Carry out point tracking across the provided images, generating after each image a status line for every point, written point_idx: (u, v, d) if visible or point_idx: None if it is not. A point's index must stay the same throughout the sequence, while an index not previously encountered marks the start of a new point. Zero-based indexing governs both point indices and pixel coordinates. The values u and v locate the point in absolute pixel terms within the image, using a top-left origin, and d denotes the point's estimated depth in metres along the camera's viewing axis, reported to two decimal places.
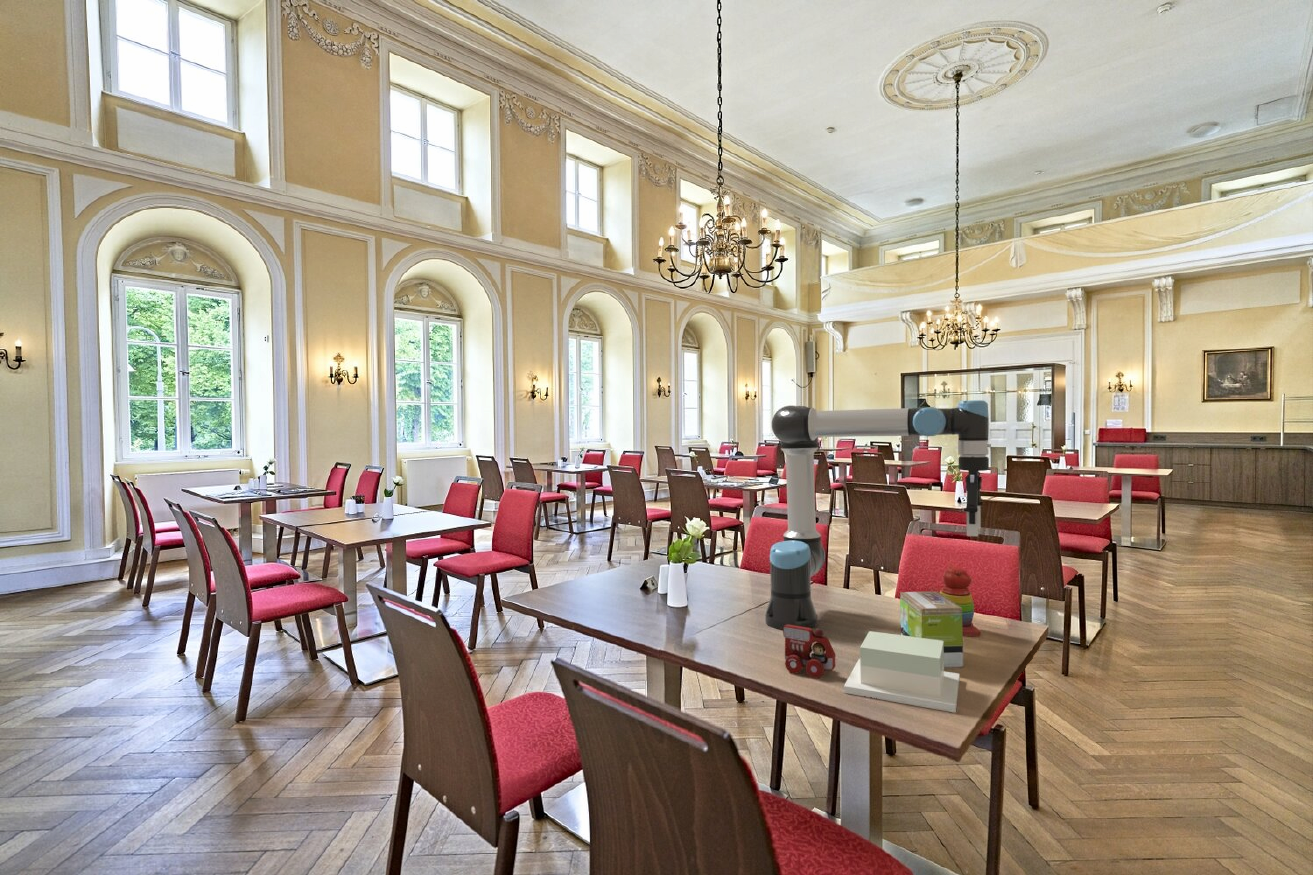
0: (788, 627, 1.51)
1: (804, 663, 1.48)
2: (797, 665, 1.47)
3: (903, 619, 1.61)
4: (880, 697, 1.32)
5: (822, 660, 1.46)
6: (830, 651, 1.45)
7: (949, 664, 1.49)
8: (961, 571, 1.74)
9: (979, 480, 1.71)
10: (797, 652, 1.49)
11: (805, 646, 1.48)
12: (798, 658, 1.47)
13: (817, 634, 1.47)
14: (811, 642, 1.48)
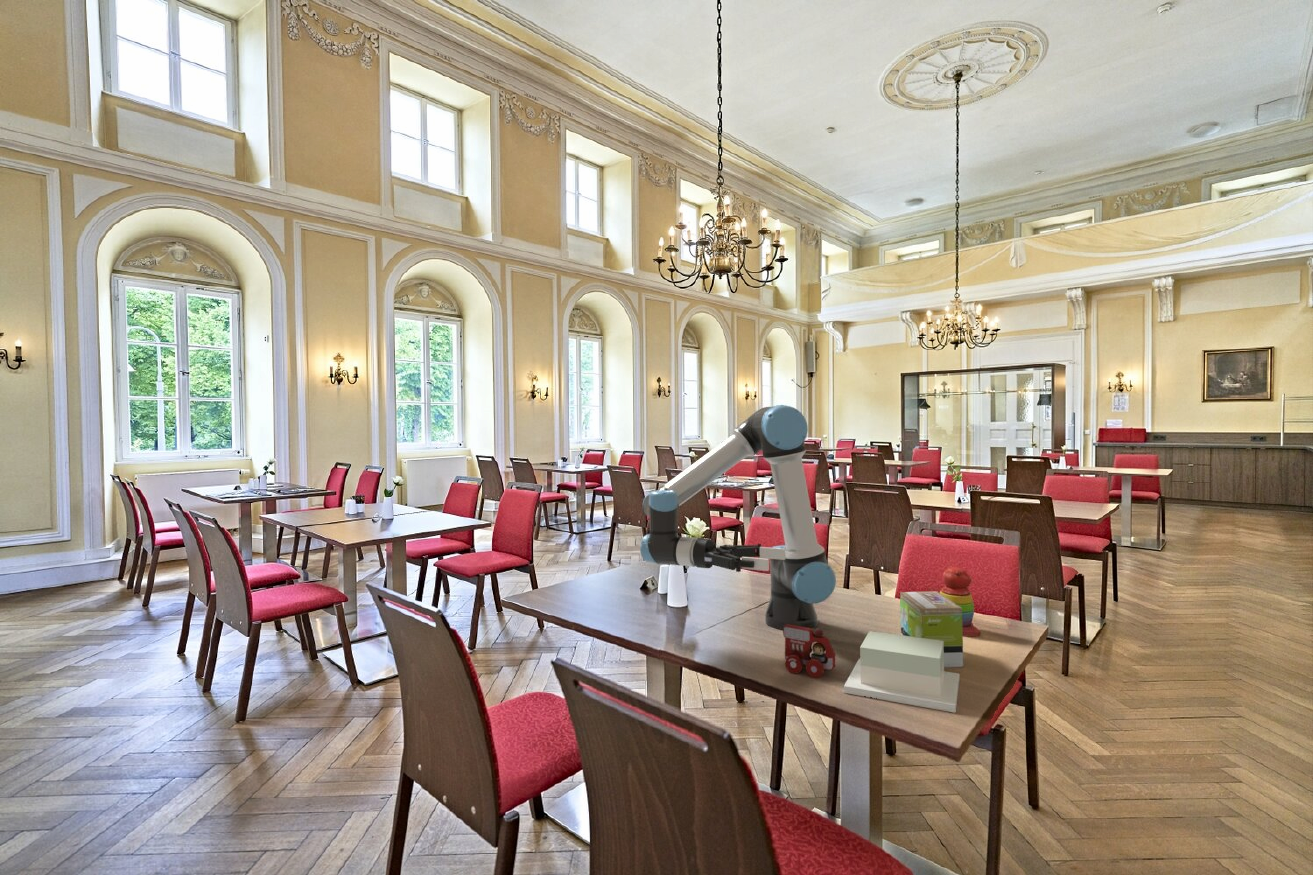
0: (788, 627, 1.51)
1: (804, 663, 1.48)
2: (797, 665, 1.47)
3: (903, 619, 1.61)
4: (880, 697, 1.32)
5: (822, 660, 1.46)
6: (830, 651, 1.45)
7: (949, 664, 1.49)
8: (961, 571, 1.74)
9: None
10: (797, 652, 1.49)
11: (805, 646, 1.48)
12: (798, 658, 1.47)
13: (817, 634, 1.47)
14: (811, 642, 1.48)
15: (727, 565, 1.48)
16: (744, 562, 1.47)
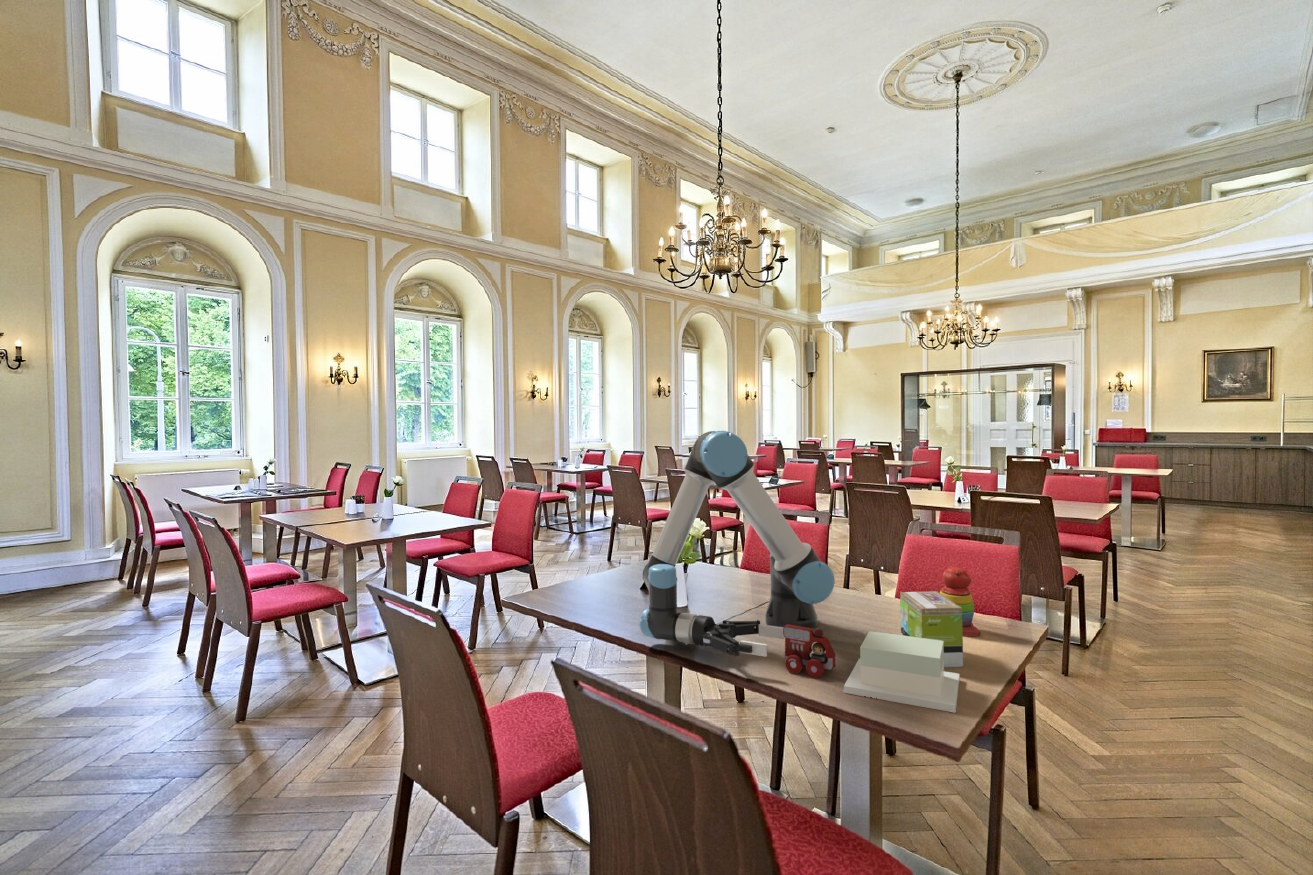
0: (788, 627, 1.51)
1: (804, 663, 1.48)
2: (797, 665, 1.47)
3: (903, 619, 1.61)
4: (880, 697, 1.32)
5: (822, 660, 1.46)
6: (830, 651, 1.45)
7: (949, 664, 1.49)
8: (961, 571, 1.74)
9: None
10: (797, 652, 1.49)
11: (805, 646, 1.48)
12: (798, 658, 1.47)
13: (817, 634, 1.47)
14: (811, 642, 1.48)
15: (725, 649, 1.48)
16: (742, 647, 1.47)
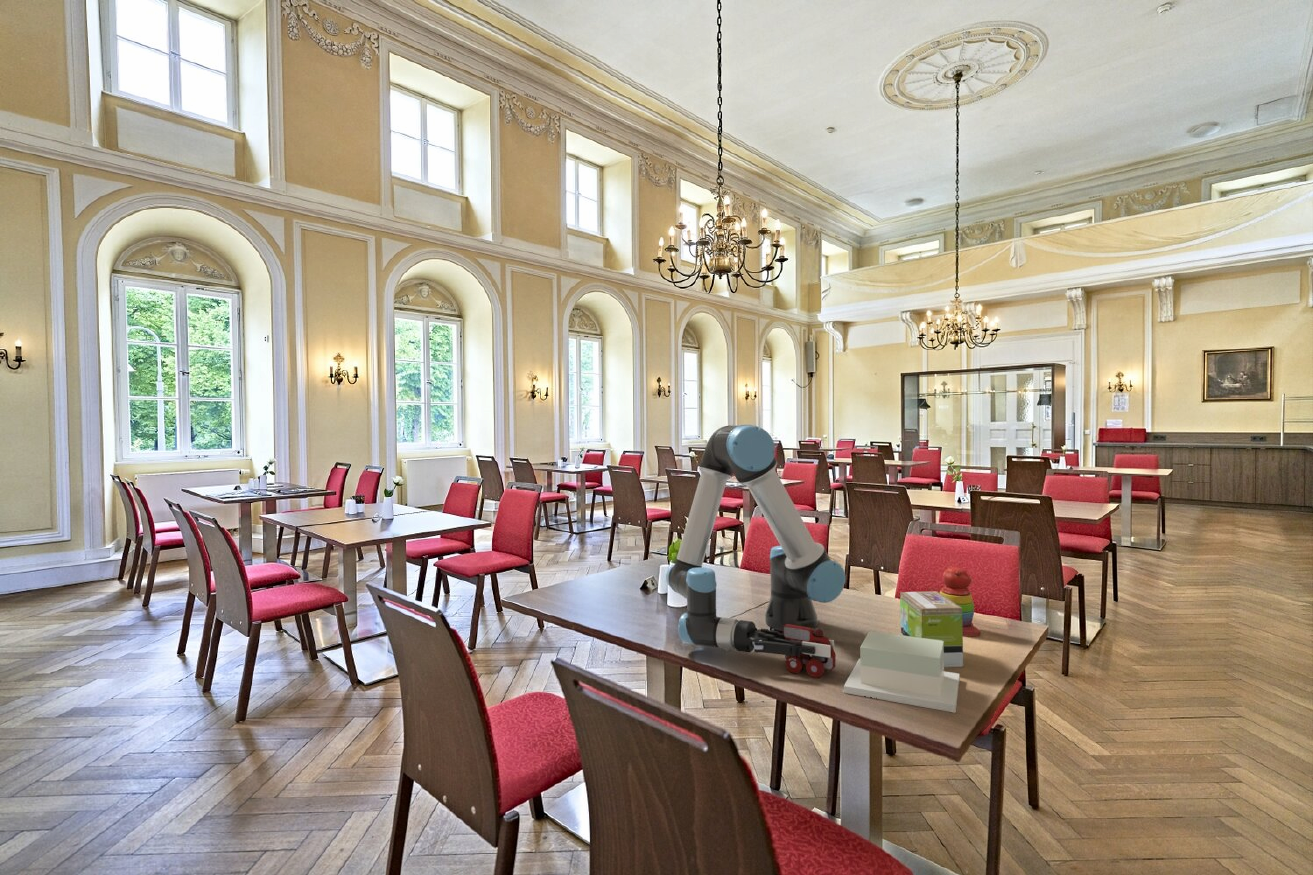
0: (788, 627, 1.51)
1: (804, 663, 1.48)
2: (797, 665, 1.47)
3: (903, 619, 1.61)
4: (880, 697, 1.32)
5: (822, 660, 1.46)
6: None
7: (949, 664, 1.49)
8: (961, 571, 1.74)
9: None
10: None
11: None
12: (798, 658, 1.47)
13: (817, 634, 1.47)
14: None
15: (788, 652, 1.46)
16: (805, 648, 1.46)
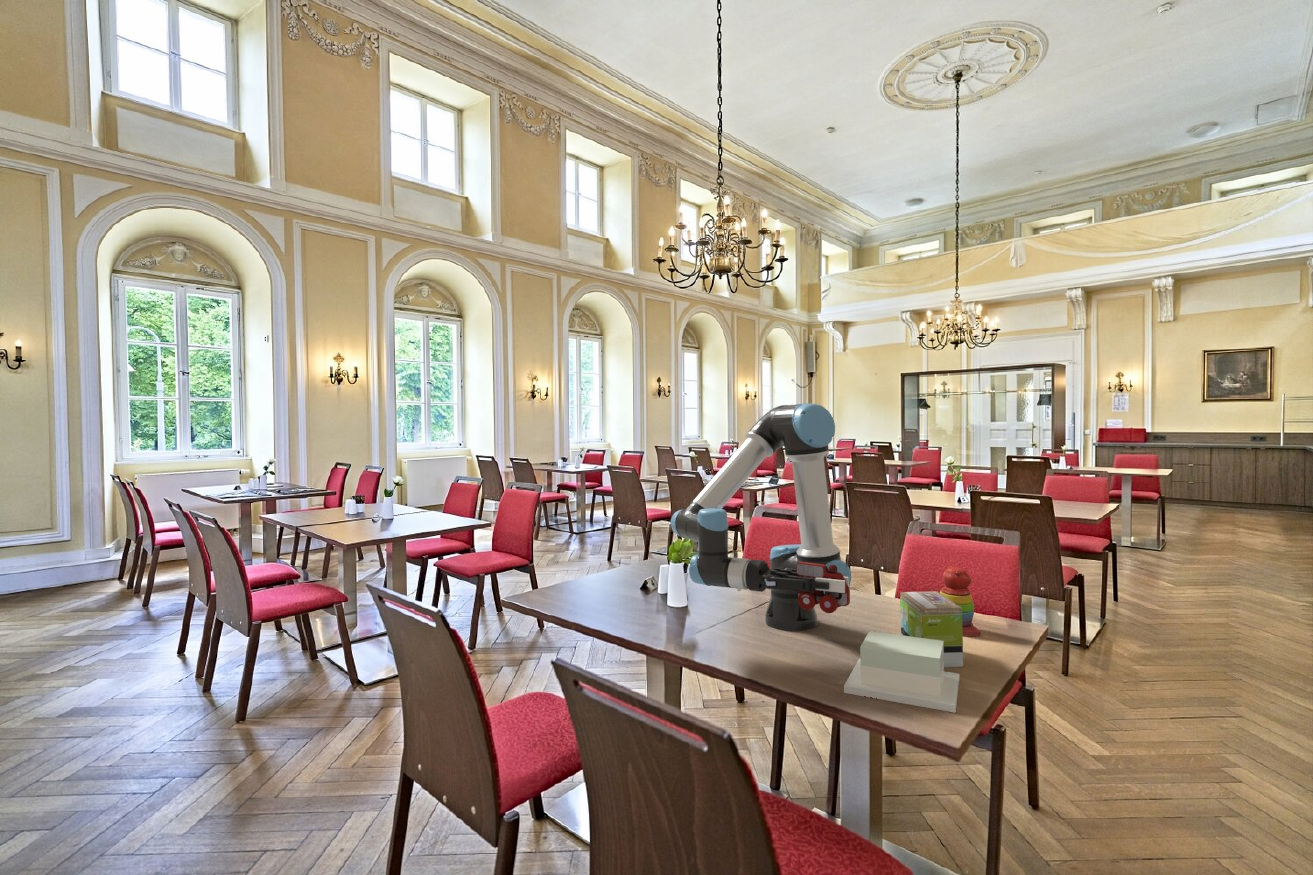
0: (801, 564, 1.47)
1: (817, 600, 1.45)
2: (810, 601, 1.43)
3: (903, 619, 1.61)
4: (880, 697, 1.32)
5: (836, 596, 1.42)
6: None
7: (949, 664, 1.49)
8: (961, 571, 1.74)
9: None
10: None
11: None
12: (811, 594, 1.43)
13: (831, 569, 1.43)
14: None
15: (801, 587, 1.42)
16: (819, 583, 1.42)
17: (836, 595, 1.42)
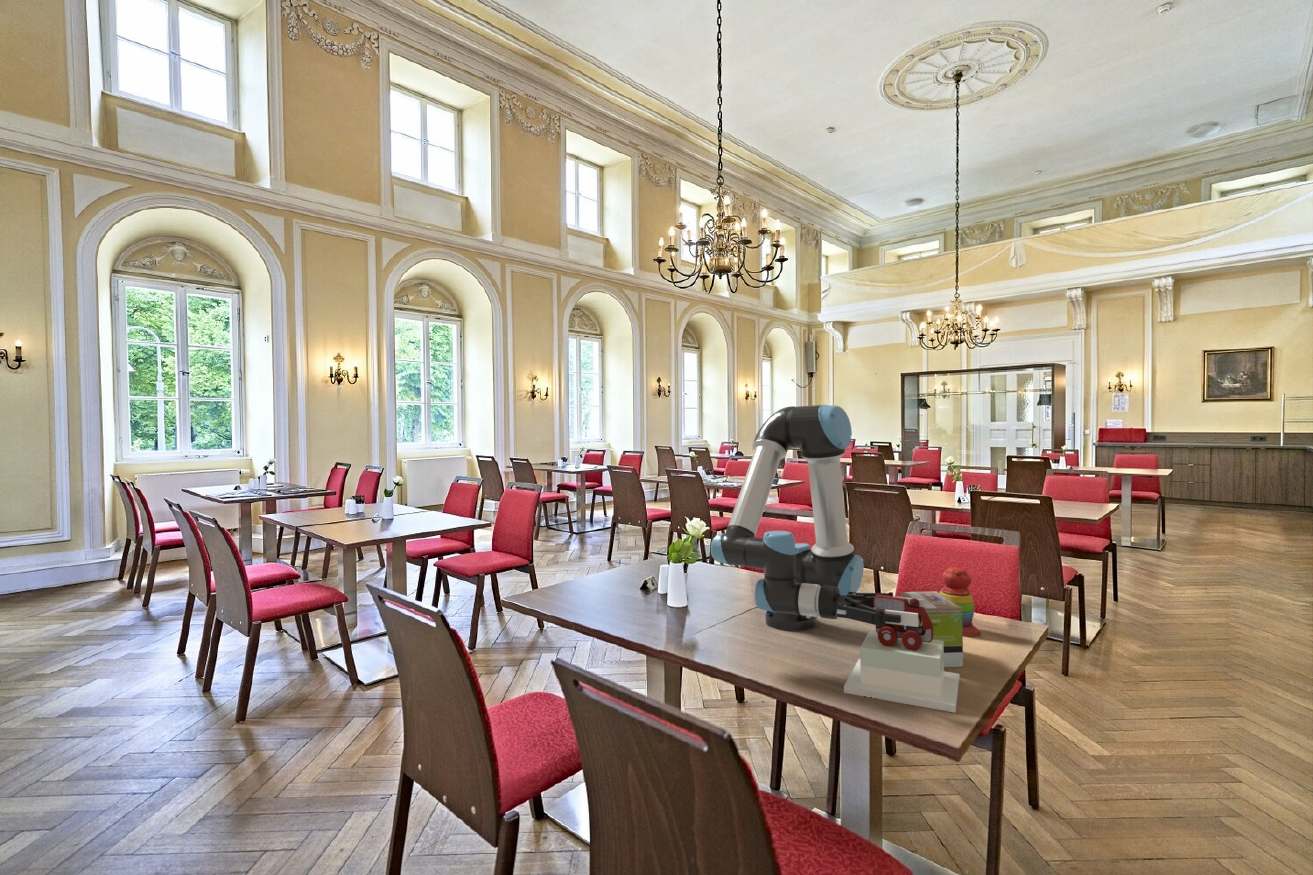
0: (879, 597, 1.40)
1: (898, 635, 1.38)
2: (892, 637, 1.36)
3: None
4: (880, 697, 1.32)
5: (919, 632, 1.36)
6: (928, 622, 1.35)
7: (949, 664, 1.49)
8: (961, 571, 1.74)
9: None
10: (890, 624, 1.39)
11: None
12: (892, 630, 1.37)
13: (913, 604, 1.37)
14: None
15: (870, 620, 1.33)
16: (890, 616, 1.33)
17: (919, 631, 1.36)
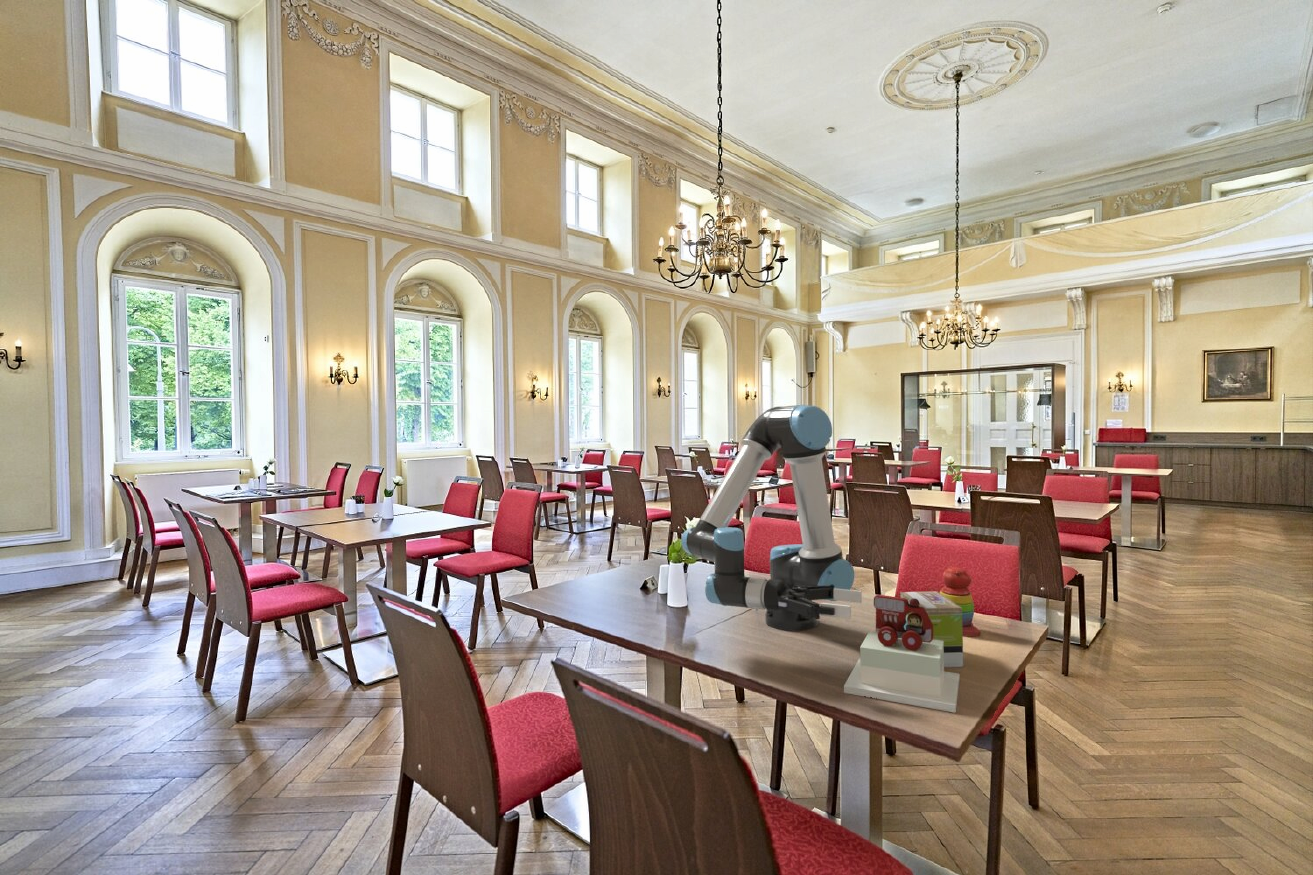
0: (879, 597, 1.40)
1: (898, 635, 1.38)
2: (892, 637, 1.36)
3: None
4: (880, 697, 1.32)
5: (919, 632, 1.36)
6: (928, 622, 1.35)
7: (949, 664, 1.49)
8: (961, 571, 1.74)
9: None
10: (890, 624, 1.39)
11: (899, 617, 1.38)
12: (892, 630, 1.37)
13: (913, 604, 1.37)
14: (906, 613, 1.37)
15: (805, 612, 1.39)
16: (824, 609, 1.38)
17: (919, 631, 1.36)
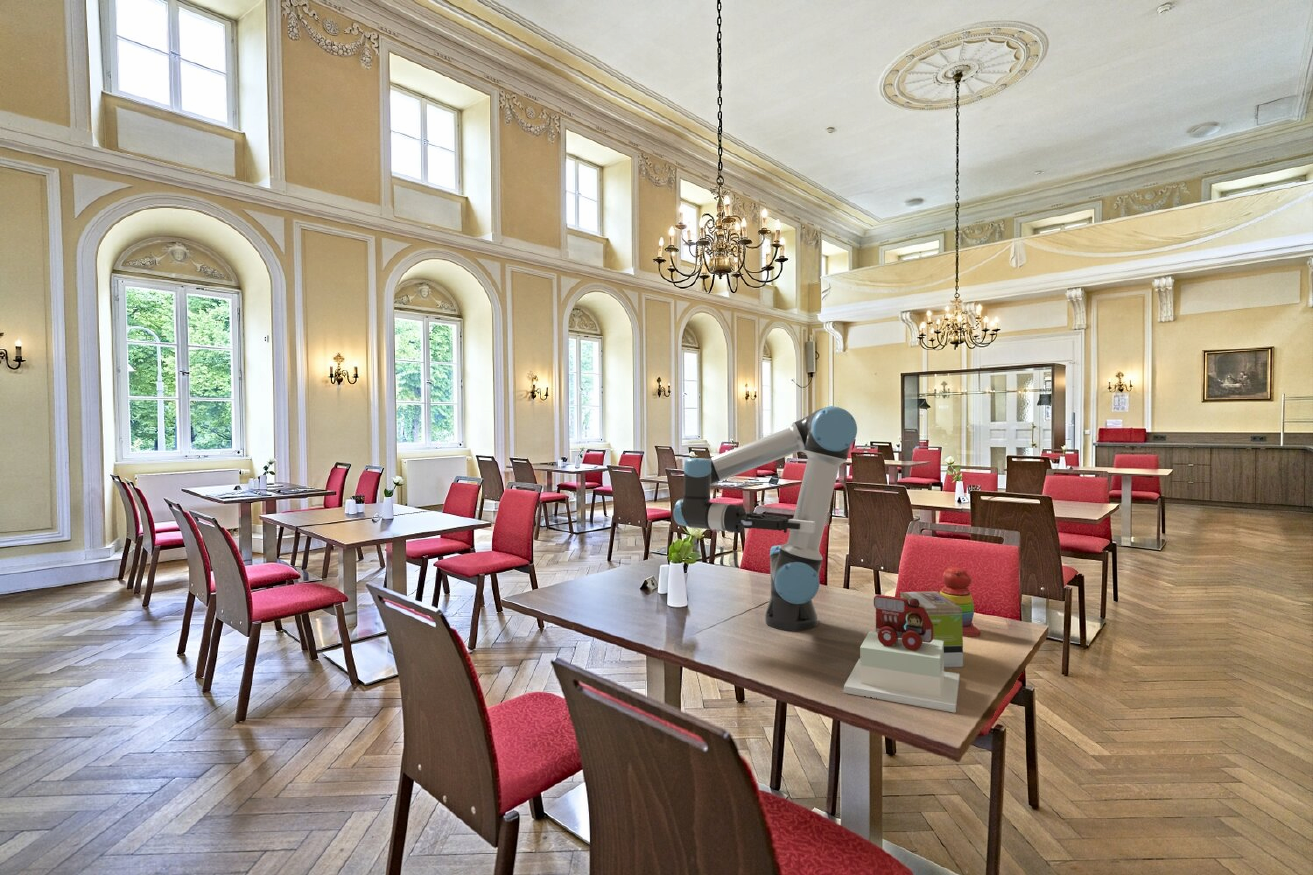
0: (879, 597, 1.40)
1: (898, 635, 1.38)
2: (892, 637, 1.36)
3: None
4: (880, 697, 1.32)
5: (919, 632, 1.36)
6: (928, 622, 1.35)
7: (949, 664, 1.49)
8: (961, 571, 1.74)
9: None
10: (890, 624, 1.39)
11: (899, 617, 1.38)
12: (892, 630, 1.37)
13: (913, 604, 1.37)
14: (906, 613, 1.37)
15: (775, 526, 1.59)
16: (790, 524, 1.59)
17: (919, 631, 1.36)
